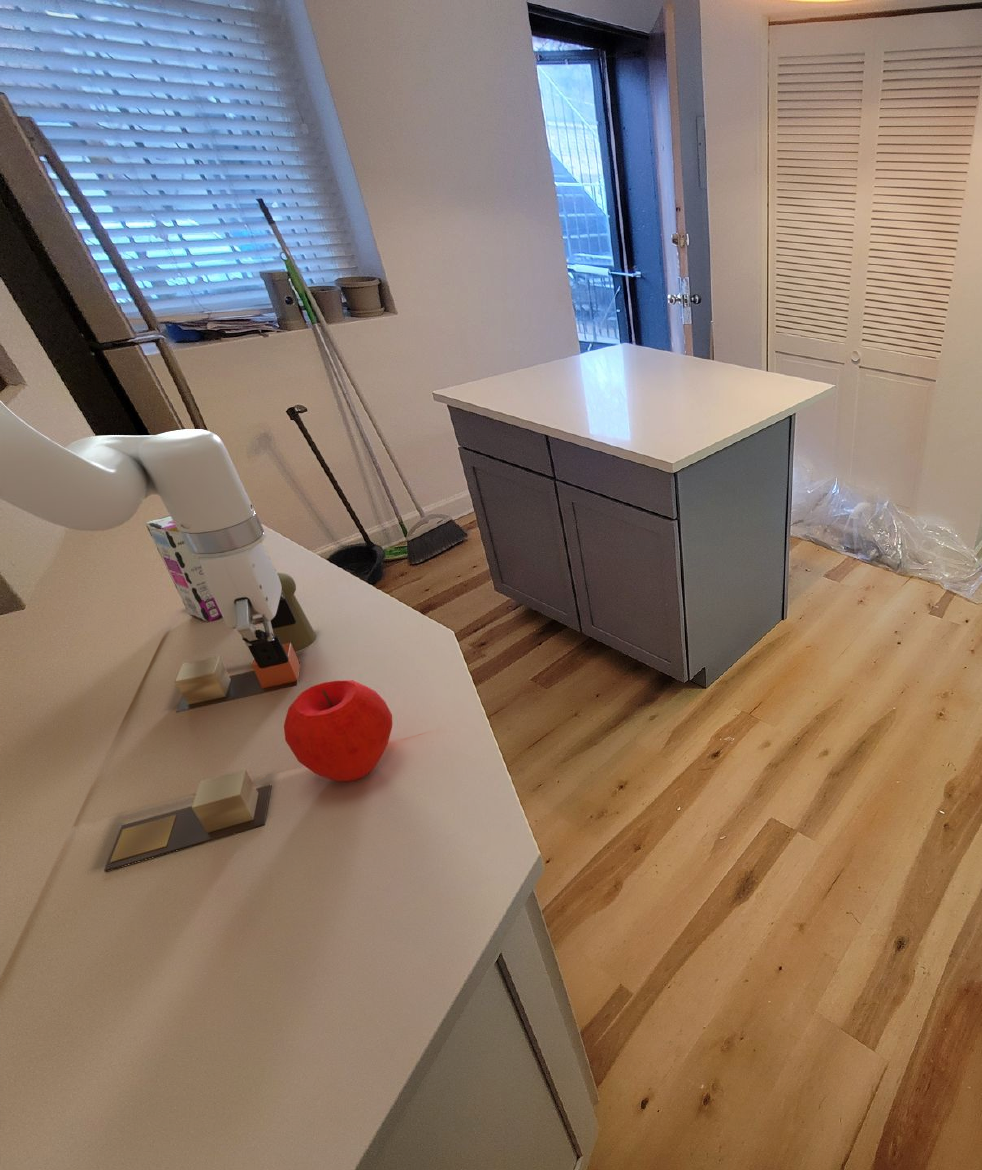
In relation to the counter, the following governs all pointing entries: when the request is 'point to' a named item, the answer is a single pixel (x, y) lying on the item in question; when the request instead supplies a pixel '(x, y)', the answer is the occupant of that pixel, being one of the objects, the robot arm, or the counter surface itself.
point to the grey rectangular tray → (217, 684)
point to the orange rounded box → (279, 670)
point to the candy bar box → (184, 570)
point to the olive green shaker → (301, 630)
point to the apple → (338, 729)
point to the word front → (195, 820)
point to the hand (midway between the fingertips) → (279, 644)
